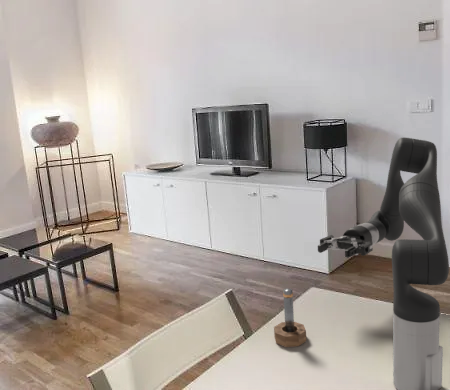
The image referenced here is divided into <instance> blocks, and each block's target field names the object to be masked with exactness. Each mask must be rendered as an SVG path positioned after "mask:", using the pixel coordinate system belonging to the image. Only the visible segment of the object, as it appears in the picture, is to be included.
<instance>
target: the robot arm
mask: <svg viewBox="0 0 450 390" xmlns="http://www.w3.org/2000/svg"><path fill="white" fill-rule="evenodd" d="M393 147H394V148H393V150H392V153H391V159H390V162H389V163H390V165H389V170H388V174H387V175H388V176H387V181H386V189H385V193H384V195H383V198H382V201H381V205H380V207H379V210H377V211H375V212H374V213H373V214H372V216H371V218H370V219H369V220H368V221H366V222H364V223H359V224H357V225H354V226H353V227H351V228H348V229H346V231H344V233H343V234H342V235H341V236H339V237H334V235H332V234H331V235H328V236H326V237H323V238H320V239H319V244H318V245H317V252H318V253H321V254H322V253H323V252H326V251H328V250H332V251H340V250H341V251H344V256H345V258H346V259H348V258H349V259H350V257H353V256H359V254H360V256H363V257H364V256H366V255H368V254H369V253H370V252H371V253H372V252H373V250H374V249H373V248H374V247H373V246H375V244H377V243H379V242H381V241H383V240H384V239H386V240H388V241H389V242H390V241H391V242H393V241H395V242H394V243H393V246H392V249H391V267H392V269H391V270H392V283H393V284H392V286H393V302H392V303H393V305H392V306H393V307H392V311H393V312H392V318H393V319H392V320H393V321H392V323H393V324H392V325H393V326H392V327H393V328H392V331H393V332H392V336H393V338H392V340H393V342H392V343H393V344H392V346H393V347H392V348H393V350H392V351H393V352H392V355H393V356H392V357H393V358H392V359H393V361H392V362H393V363H392V364H393V371H392V374H393V375H392V376H393V379H392V380H393V382H392V383H393V386H394V387H395V389H397V390H440V389H441V388H442V387H443V356H444V355H443V351H444V350H443V349H444V348H443V346H442V345H440V320H441V319H440V318H441V317H440V314H441V313H440V311H441V307H440V303H439V301H438V300H437V298H435V297H434V296H432V295H430V294H428V293H425V292H424V291H421V290H420V289H416V288H415V287H413V286H412V285H420V286H421V285H422V286H423V285H424V286H427V285H428V286H440V285H444V283H445V282H446V281H447V280H448V276H449V272H450V271H449V270H450V263H449V255H448V249H447V245H446V241H445V235H444V230H443V222H442V208H441V207H442V206H441V198H440V190H439V183H438V174H437V173H438V150H437V146H436V145H435V143H434V142H432V141H428V140H425V139H418V138H417V139H416V138H412V137H400V138H398V139H397V141H396V143H395V144H394V146H393ZM401 172H406V173H410V174H415V175H413V176H412V177H410V178H409V179H408V180H406V182H404V180H403V178H402V176H401ZM405 224H407V226H408V227H409V228H411V229H412V230H413V231H414V232H415V233H416V234H417V235H418V236H420V237H421V238H422V239H399V238H400V237H401V236H402V234H403V232H404V227H405Z"/></svg>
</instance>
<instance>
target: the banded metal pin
mask: <svg viewBox="0 0 450 390" xmlns="http://www.w3.org/2000/svg"><path fill="white" fill-rule="evenodd" d="M282 291H283V292H282V296H283V309H284V310H283V312H284V313H283V315H284V322H285V332H287V333H289V332H294V322H295V317H294V315H295V313H294V312H295V311H294V292H293V289H292V288H290V287H289V288H288V287H286V288H284V289H283V290H282Z"/></svg>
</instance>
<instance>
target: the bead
mask: <svg viewBox="0 0 450 390" xmlns="http://www.w3.org/2000/svg"><path fill="white" fill-rule="evenodd" d="M273 333H274V334H273V335H274V340H275V344H276V345H280V346H282V347H285V348H293V347H300V346H301V345H303V344H304V343H306V342H307V330H306V327H305V325H304V324H302V323H300V322H296V321H294V332H289V333H287V332H285V321H281V322H279V323H278V324H277V325H275V326H273Z"/></svg>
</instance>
